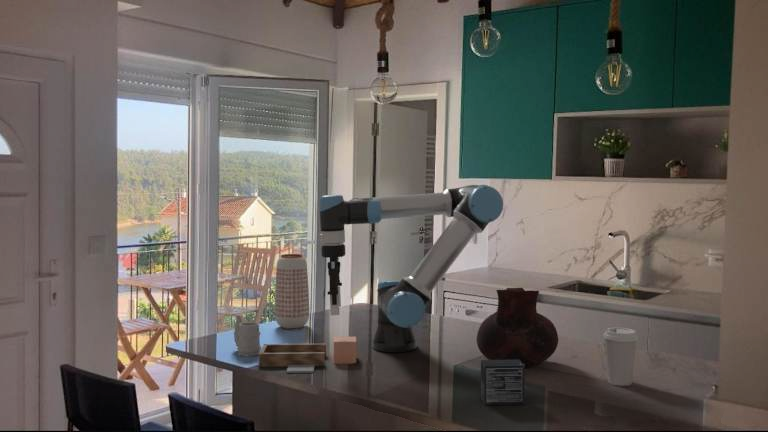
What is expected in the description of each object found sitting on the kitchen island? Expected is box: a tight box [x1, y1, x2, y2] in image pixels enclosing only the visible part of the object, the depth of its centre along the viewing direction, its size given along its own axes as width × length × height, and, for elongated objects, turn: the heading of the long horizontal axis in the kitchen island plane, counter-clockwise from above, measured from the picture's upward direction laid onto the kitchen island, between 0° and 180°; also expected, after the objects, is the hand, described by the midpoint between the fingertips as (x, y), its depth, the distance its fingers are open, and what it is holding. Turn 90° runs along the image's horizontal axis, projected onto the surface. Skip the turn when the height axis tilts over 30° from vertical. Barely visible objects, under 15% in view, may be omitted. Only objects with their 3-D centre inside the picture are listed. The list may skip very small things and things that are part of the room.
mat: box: [285, 364, 316, 374], centre depth 211 cm, size 8×7×1 cm
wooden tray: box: [258, 343, 327, 368], centre depth 221 cm, size 20×12×4 cm, turn 92°
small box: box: [480, 359, 526, 406], centre depth 181 cm, size 11×6×10 cm, turn 92°
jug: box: [476, 287, 559, 369], centre depth 216 cm, size 25×25×25 cm
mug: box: [233, 314, 262, 357], centre depth 231 cm, size 8×12×12 cm, turn 47°
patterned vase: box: [274, 253, 310, 330], centre depth 269 cm, size 13×13×28 cm
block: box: [333, 336, 357, 365], centre depth 221 cm, size 7×7×7 cm
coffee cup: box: [602, 327, 639, 387], centre depth 198 cm, size 10×10×15 cm
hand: (335, 310), depth 221 cm, fingers open, 13 cm apart
